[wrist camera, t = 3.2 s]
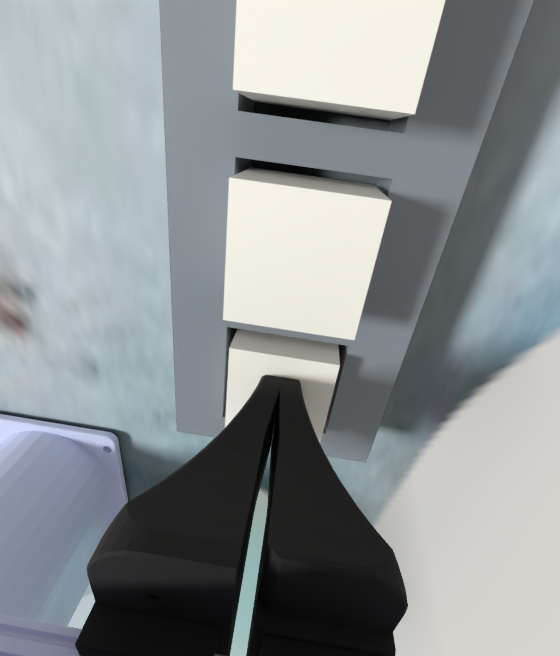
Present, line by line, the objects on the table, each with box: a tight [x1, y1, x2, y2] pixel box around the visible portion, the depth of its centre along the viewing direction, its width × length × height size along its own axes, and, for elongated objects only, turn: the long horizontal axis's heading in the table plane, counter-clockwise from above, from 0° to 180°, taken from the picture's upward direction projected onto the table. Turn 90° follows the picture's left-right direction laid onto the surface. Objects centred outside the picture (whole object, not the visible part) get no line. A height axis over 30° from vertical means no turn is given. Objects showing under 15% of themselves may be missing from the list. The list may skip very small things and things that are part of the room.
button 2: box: [233, 0, 445, 120], centre depth 7 cm, size 4×4×3 cm
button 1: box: [225, 329, 340, 442], centre depth 14 cm, size 4×4×3 cm
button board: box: [159, 0, 534, 462], centre depth 12 cm, size 18×8×2 cm, turn 174°
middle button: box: [223, 167, 392, 340], centre depth 10 cm, size 4×4×3 cm
